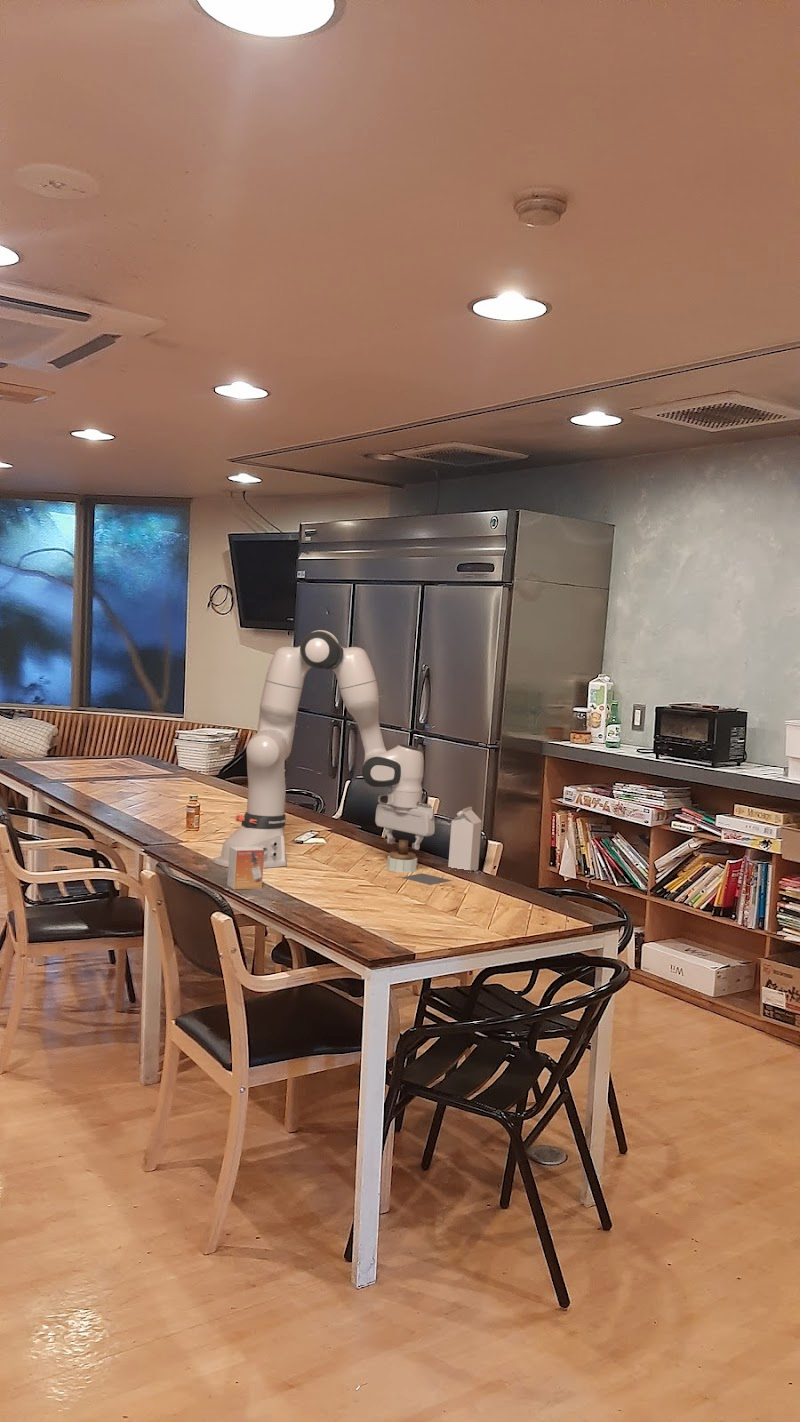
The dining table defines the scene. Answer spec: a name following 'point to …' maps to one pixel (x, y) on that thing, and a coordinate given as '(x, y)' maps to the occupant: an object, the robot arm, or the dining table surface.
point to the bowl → (402, 865)
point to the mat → (426, 879)
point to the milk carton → (465, 840)
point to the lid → (402, 852)
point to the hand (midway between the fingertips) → (403, 846)
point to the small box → (245, 867)
